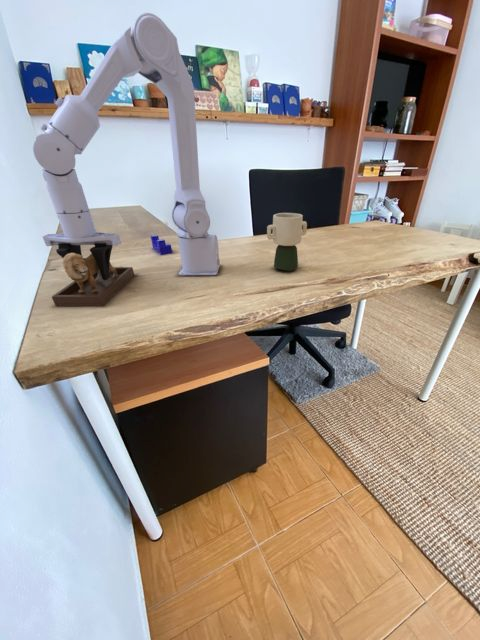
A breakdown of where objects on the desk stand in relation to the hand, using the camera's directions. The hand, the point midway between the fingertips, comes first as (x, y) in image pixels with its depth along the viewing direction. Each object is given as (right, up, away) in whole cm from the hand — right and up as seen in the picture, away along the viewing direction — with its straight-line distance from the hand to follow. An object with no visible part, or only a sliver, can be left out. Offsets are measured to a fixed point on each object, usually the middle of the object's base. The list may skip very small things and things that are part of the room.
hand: (95, 278), depth 65 cm
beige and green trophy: (+43, +5, +12) cm, 45 cm away
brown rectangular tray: (0, -2, +1) cm, 3 cm away
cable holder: (+6, +15, +27) cm, 31 cm away
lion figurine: (0, -2, +1) cm, 2 cm away
